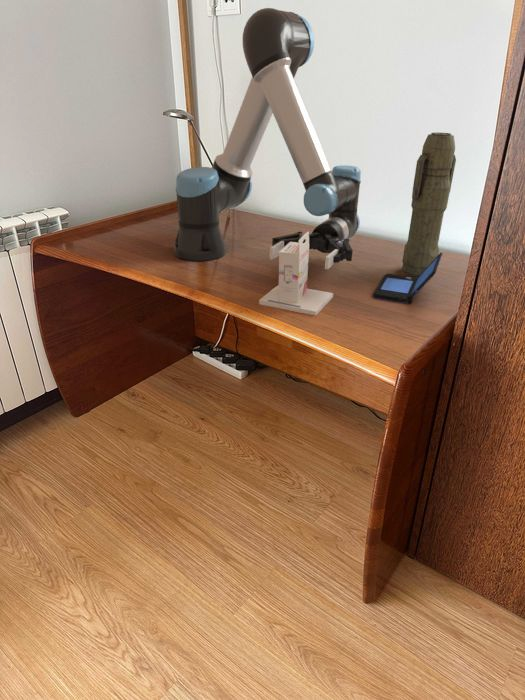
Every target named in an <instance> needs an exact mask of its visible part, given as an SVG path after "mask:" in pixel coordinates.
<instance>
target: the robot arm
mask: <svg viewBox="0 0 525 700" xmlns="http://www.w3.org/2000/svg"><path fill="white" fill-rule="evenodd" d="M314 49H315V35H314V32H313V28H312V26H311V25H310V23H309V21H308V20H307V19H306V18H304V17H303V16H301V15H299V14H297V13H295V12H293V11H286V10H279V9H277V8H273V7H266V8H265V7H263V8H261V9H259V10H257V11H255V12H254V13H253V14H251V16H249V18H248V19H247V21H246V22H245V25H244V28H243V31H242V50H243V55H244V58H245V61H246V63H247V66H248V69H249V72H250V74H251V79H250V81H249V84H248V87H247V90H246V92H245V95H244V97H243V99H242V102H241V105H240V108H239V110H238V113H237V115H236V118H235V120H234V122H233V123H234V124H233V126H232V128H231V132H230V133H229V137H228V139H227V143H226V145H225V147H224V150H223V152H222V153H220V154H218V155H216V157H215V159H214V162H213V163H212V166H211V167H208V166H196V167H191V168H187V169H184V170H182V171H180V172H178V174H177V175H176V179H175V180H176V181H175V183H176V184H175V192H176V202H177V203H176V204H177V216H178V217H177V218H178V220H177V221H178V230H177V234H176V239H175V242H174V245H173V246H174V248H173V249H174V255H175V256H176V257H178V258H179V259H181V260H182V259H183V260H187V261H195V262H196V261H200V262H201V261H202V262H204V261H211V260H216V259H220V258H222V257H224V256H225V255H226V253H227V246H226V242H225V240H224V236H223V234H222V233H223V232H222V231H221V228H220V212H222V211H226V210H229V209H233V208H235V207H238V206H239V205H241V204H243V203H244V202H246V200H247V199H248V198H249V197H250V195H251V192H252V187H253V183H252V181H251V180H252V179H251V178H252V175H253V171H252V168H251V164H252V163H253V160H254V158H255V156H256V153H257V150H258V148H259V146H260V143H261V142H262V139H263V137H264V135H265V132H266V130H267V127H268V125H269V122H270V120H271V118H272V115H273V117H274V120H275V121H276V123H277V126H278V128H279V131H280V133H281V135H282V138H283V139H284V142H285V144H286V147H287V149H288V152H289V154H290V156H291V158H292V161H293V164H294V166H295V168H296V171H297V173H298V175H299V177H300V180H301V182H302V184H303V188H304V190H305V192H304V194H303V206H304V209H305V210H306V211H307V212H308V213H309V214H311V215H312V216H315V217H323V216H326V215H328V218H327V219H326V220H324V221H322V223H319V224H318V225H317V226H316V227H314V229H313V230H312V232H311V233H309V250H316V251H318V252H320V253H323V254H328V255H326V256H325V262H324V263H325V264H324V269H325V270H329V269H331V267H333V266H334V265H335V264H338V263H340V262H342V261H344V260H346V262H351V261H352V259H353V248H352V246H351V245H350V238H352V237H353V236H355V234H356V233H357V231H358V230H359V228H360V223H361V222H360V221H361V220H360V217H359V215H358V205H359V204H358V203H359V197H360V196H359V195H360V187H361V182H362V181H361V173H362V172H361V169H360V168H359V167H358V166H354V165H336V166H334V167H332V169H331V167H330V163H329V162H328V159H327V157H326V154H325V152H324V149H323V146H322V145H321V144H322V143H321V142H320V140H319V137H318V134H317V132H316V130H315V127H314V124H313V122H312V120H311V118H310V115H309V114H310V113H308V110H307V107H306V104H305V102H304V99H303V98H302V96H301V92H300V90H299V88H298V86H297V83H296V80H295V76H296V74H297V72H298V70H299V68H300V67H303V65H305V64H306V63H308V61H309V59H310V58H312V54H313V53H314V52H313V51H314ZM303 235H304V234H303V232H302V231H297V232H295V233H291V234H287V235H286V234H285V235H282V236H276V237H272V239H271V240H272V242H271V243H272V246H270V248H269V260H271V261H272V260H273V261H274V260H275V259H276V258H277V257H279V251H281V250H282V249H283V248H284V247H285V246H286V245H287V244H288V243H289V242H297V243H298V241H299V239H300V238H301V237H302V236H303ZM303 243H305V240H304V241H303Z"/></svg>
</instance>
